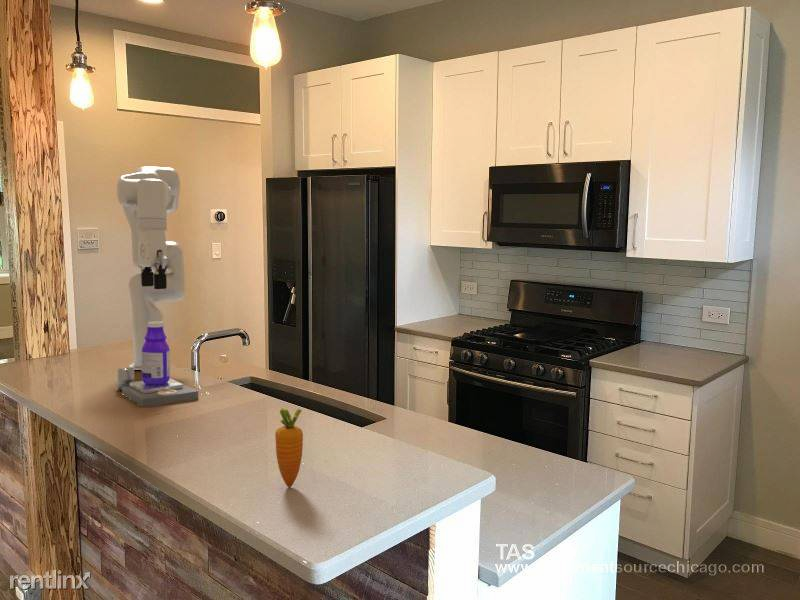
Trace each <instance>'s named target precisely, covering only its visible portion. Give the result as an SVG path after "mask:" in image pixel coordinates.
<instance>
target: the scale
mask: <svg viewBox="0 0 800 600" xmlns="http://www.w3.org/2000/svg"><path fill="white" fill-rule="evenodd" d="M174 380H175V381H177V382H179V383H181V384H183V388H179V389H173V390H161V391H158V392H152V393H145V394H143V393H141V392H139V391H138V390H136V389H134V388H132V387H131V386H126V387H122V391H121V395H122V394H124V395H125V396H127V397H128V398H130V399H131V401H132V400H133V401H134V402H133V401H132V402H133V403H135V402H136V403H137V405H138V404H139V405H138V406H139V407H141V408H142V409H144V408H149V407H150V408H151V407H155V406H161V405H162V406H163V405H169V404H175V403H181V402H182V403H183V402H187V401H188V402H189V401H193V400H194V401H196V400H198V399H199V390H196V389H195V388H192V387H190V386H188V385H186V384H185V383H182V382H180V381H179V380H176V379H174ZM125 396H124V397H125ZM127 397H126V398H127ZM128 398H127V399H128ZM130 399H129V400H130ZM136 403H135V404H136Z"/></svg>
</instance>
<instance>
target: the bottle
mask: <svg viewBox="0 0 800 600" xmlns="http://www.w3.org/2000/svg"><path fill="white" fill-rule="evenodd" d="M163 327H164V321H163V322H162V321H150V322H148V329H147V334H146V336H145V340H146V341H145V343H144V345H143V348H142V371H141V372H142V374H141V377H142V381H143V382H144V383H145V384H153V385H162V384H165V383H167V382H168V381H169V378H171V376H170V374H171V371H170V370H171V365H170V364H171V363H170V361H171V360H170V359H171V357H170V346H169V344H168V342H167V341H166V339H167V335H166V334H165V331H164V330H165V329H164V330H163Z"/></svg>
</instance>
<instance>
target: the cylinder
mask: <svg viewBox="0 0 800 600" xmlns="http://www.w3.org/2000/svg"><path fill="white" fill-rule="evenodd" d="M130 382H135V371H134V368H129V367H119V368H117V383H116V385H117V386H116V389H118V390H122V387H126V386H130ZM118 390H117V391H118Z"/></svg>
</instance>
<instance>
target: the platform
mask: <svg viewBox="0 0 800 600" xmlns="http://www.w3.org/2000/svg"><path fill="white" fill-rule="evenodd" d="M175 380H176V379H173V378H171V377H170V378H169V381H168V382H167V383H165V384H162V385H153V384H145V383H144V382H143V380H140V381H139V380H138V381H134V382H130V386H131V387H132V388H134V389H136V390H138V391H139V392H141V393H143V394H145V393H152V392H158V391H161V390H173V389H179V388H183V384H184V383H182V382H180V381H178V380H176V381H175ZM177 381H178V382H177ZM179 382H180V383H179ZM181 383H182V384H181Z"/></svg>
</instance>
